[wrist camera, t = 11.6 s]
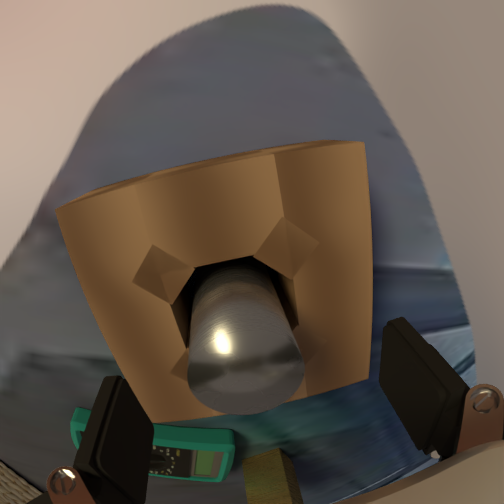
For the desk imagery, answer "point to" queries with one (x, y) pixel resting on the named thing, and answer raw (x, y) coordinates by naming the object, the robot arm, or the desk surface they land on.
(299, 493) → the square bit
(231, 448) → the digital multimeter
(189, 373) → the cylinder
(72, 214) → the bore block
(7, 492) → the storage basket
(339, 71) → the desk surface
